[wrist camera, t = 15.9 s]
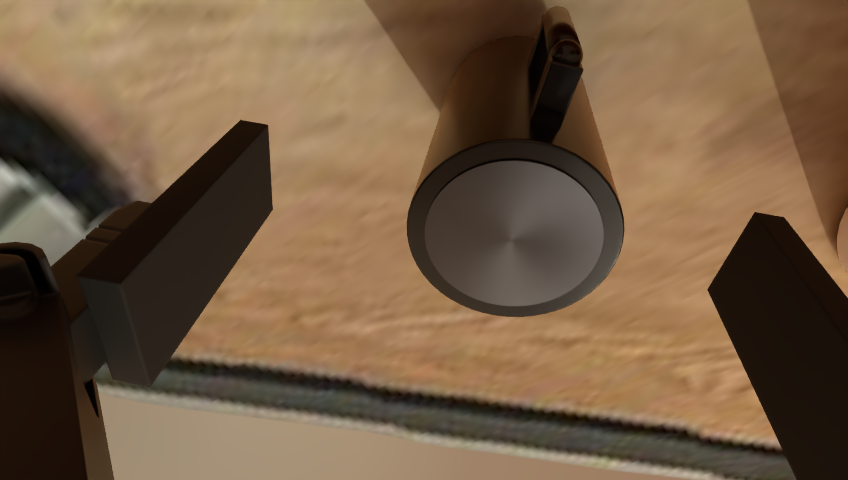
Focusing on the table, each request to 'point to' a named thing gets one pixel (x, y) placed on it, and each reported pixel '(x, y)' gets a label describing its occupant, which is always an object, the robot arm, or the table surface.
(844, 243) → the milk bottle
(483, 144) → the silver-capped dark cylinder
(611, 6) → the table surface
